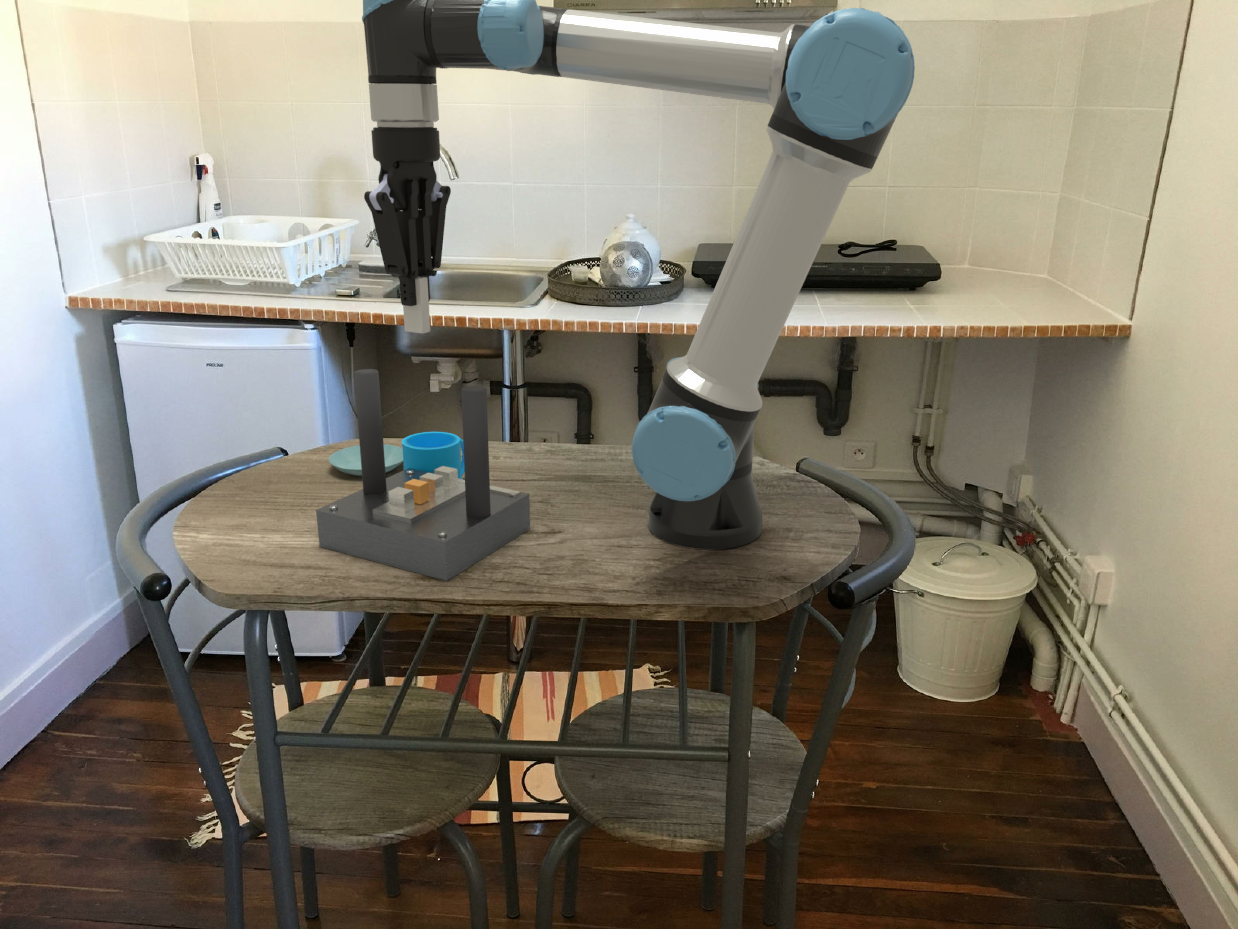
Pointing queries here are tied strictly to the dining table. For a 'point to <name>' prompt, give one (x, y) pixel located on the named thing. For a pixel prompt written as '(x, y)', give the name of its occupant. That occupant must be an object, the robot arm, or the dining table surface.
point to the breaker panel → (422, 524)
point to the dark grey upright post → (370, 431)
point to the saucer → (351, 459)
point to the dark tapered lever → (476, 451)
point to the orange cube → (418, 490)
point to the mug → (433, 452)
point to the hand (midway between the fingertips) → (417, 331)
